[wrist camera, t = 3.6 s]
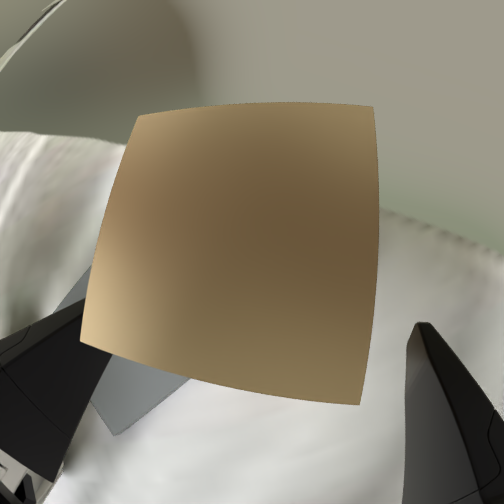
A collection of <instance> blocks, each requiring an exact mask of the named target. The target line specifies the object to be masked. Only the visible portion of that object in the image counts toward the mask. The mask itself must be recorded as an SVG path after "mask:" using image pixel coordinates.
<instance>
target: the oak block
mask: <svg viewBox="0 0 504 504" xmlns="http://www.w3.org/2000/svg"><path fill="white" fill-rule="evenodd" d="M378 243H379V182H378V159H377V144H376V131H375V120H374V112H373V107H369V106H359V105H346V104H330V103H300V102H296V103H295V102H286V103H285V102H278V103H277V102H276V103H245V104H229V105H217V106H205V107H196V108H188V109H179V110H173V111H166V112H159V113H153V114H147V115H141V116H139V117H138V119H137V121H136V123H135V126H134V128H133V131H132V133H131V136H130V139H129V141H128V144H127V146H126V149H125V152H124V154H123V157H122V160H121V163H120V166H119V169H118V172H117V175H116V178H115V181H114V184H113V187H112V190H111V193H110V197H109V200H108V203H107V207H106V210H105V214H104V218H103V221H102V225H101V229H100V233H99V237H98V241H97V245H96V249H95V254H94V258H93V263H92V268H91V273H90V278H89V283H88V288H87V294H86V300H85V306H84V313H83V320H82V328H81V336H80V341H81V342H83V343H86V344H88V345H91V346H93V347H96V348H98V349H101V350H104V351H106V352H109V353H112V354H114V355H117V356H120V357H123V358H126V359H129V360H132V361H135V362H138V363H141V364H144V365H147V366H150V367H153V368H157V369H160V370H163V371H167V372H170V373H174V374H177V375H181V376H185V377H188V378H192V379H196V380H200V381H204V382H208V383H212V384H217V385H221V386H226V387H230V388H235V389H240V390H245V391H250V392H255V393H261V394H267V395H273V396H279V397H286V398H292V399H300V400H308V401H316V402H326V403H336V404H348V405H360V400H361V395H362V390H363V385H364V379H365V374H366V368H367V361H368V355H369V348H370V341H371V333H372V325H373V316H374V306H375V295H376V282H377V266H378Z"/></svg>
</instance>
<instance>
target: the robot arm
mask: <svg viewBox="0 0 504 504" xmlns="http://www.w3.org/2000/svg"><path fill="white" fill-rule="evenodd" d="M85 300H86V298H84V299H81V300H79V301H77V302H75V303H73V304H71V305H69V306H67V307H65V308H63V309H61V310H59V311H57V312H55V313H53V314H51V315H49V316H47V317H45V318H44V319H42V320H40V321H38V322H36V323H34V324H32V325H30V326H28V327H26V328H24V329H22V330H20V331H18V332H16V333H14V334H12V335H10V336H8V337H5V338H3V339H1V340H0V504H36V503H37V502H36V498H35V493H34V488H33V483H32V477H31V476H30V475H29V474H28V473H27V471H28V469H30V470H31V471H33V472H34V473H36V474H38V475H39V476H41V477H42V478H44V479H46V480H48V481H49V482H51V483H54V481H55V479H56V477H57V474H58V472H59V469H60V467H61V464H62V462H63V459H64V457H65V455H66V452H67V450H68V447H69V445H70V443H71V441H72V440H71V439H72V438H73V436H74V433H75V431H76V429H77V427H78V424H79V422H80V420H81V418H82V416H83V414H84V411H85V409H86V407H87V405H88V403H89V401H90V399H91V397H92V395H93V393H94V391H95V389H96V387H97V385H98V383H99V381H100V379H101V377H102V375H103V373H104V371H105V369H106V367H107V365H108V363H109V361H110V359H111V357H112V355H113V354H112V353H109V352H106V351H104V350H101V349H98V348H96V347H93V346H91V345H88V344H86V343H83V342H81V341H80V336H81V328H82V320H83V313H84V306H85ZM402 504H504V421H503V419H502V418H501V416H500V415H499V413H498V412H497V410H496V409H495V410H494V406H493V405H492V403H491V402H490V400H489V399H488V397H487V396H486V395H485V393H484V392H483V390H482V389H481V388H480V386H479V385H478V383H477V382H476V381H475V379H474V378H473V377H472V375H471V374H470V372H469V371H468V370H467V368H466V367H465V366H464V365H463V363H462V362H461V361H460V359H459V358H458V357H457V355H456V354H455V353H454V352H453V350H452V349H451V348H450V347H449V345H448V344H447V343H446V342H445V340H444V339H443V338H442V337H441V335H440V334H439V333H438V332H437V330H436V329H435V328H434V327H433V326H432V325H431V324H430V323H428V322H417V323H416V324H415V326H414V328H413V331H412V333H411V335H410V338H409V340H408V343H407V349H406V380H405V471H404V487H403V498H402Z"/></svg>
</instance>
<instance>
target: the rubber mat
mask: <svg viewBox="0 0 504 504" xmlns="http://www.w3.org/2000/svg"><path fill="white" fill-rule="evenodd" d="M91 268H92V265H91V266H90V267H89V269H88V270H87V271H86V272H85V273H84V275H83V276H82V277H81V278H80V279H79V281H78V282H77V283H76V284H75V286H74V287H73V288H72V289H71V291H70V292H69V293H68V294H67V296H66V297H65V298H64V299H63V301H62V302H61V303H60V305H59V306H58V307H57V308H56V310H55V311H54V312H53V313H55V312H57V311H59V310H61V309H63V308H65V307H67V306H69V305H71V304H73V303H75V302H77V301H79V300H81V299H84V298H86V294H87V288H88V283H89V278H90V273H91ZM189 379H190V378H188V377H185V376H181V375H177V374H174V373H170V372H167V371H163V370H160V369H157V368H153V367H150V366H147V365H144V364H141V363H138V362H135V361H132V360H129V359H126V358H123V357H120V356H117V355H114V354H113V355H112V357H111V359H110V361H109V363H108V365H107V367H106V369H105V371H104V373H103V375H102V377H101V379H100V381H99V383H98V385H97V387H96V389H95V391H94V393H93V395H92V397H91V399H90V401H91V402H92V404H93V406H94V407H95V409H96V410H97V412H98V414H99V415H100V417H101V418H102V420H103V421H104V423H105V424H106V426H107V427H108V429H109V430H110V432H111V433H112V434H113V436H116V435H119V434H121V433H122V432H123V431H125V430H126V429H127V428H129V427H130V426H131V425H133V424H134V423H135V422H137V421H138V420H139V419H140V418H142V417H143V416H144V415H146V414H147V413H148V412H149V411H151V410H152V409H153V408H155V407H156V406H157V405H158V404H160V403H161V402H162V401H163V400H165V399H166V398H167V397H168V396H170V395H171V394H172V393H173V392H175V391H176V390H177V389H178V388H179V387H181V386H182V385H183V384H184V383H186V382H187V381H188V380H189Z"/></svg>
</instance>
